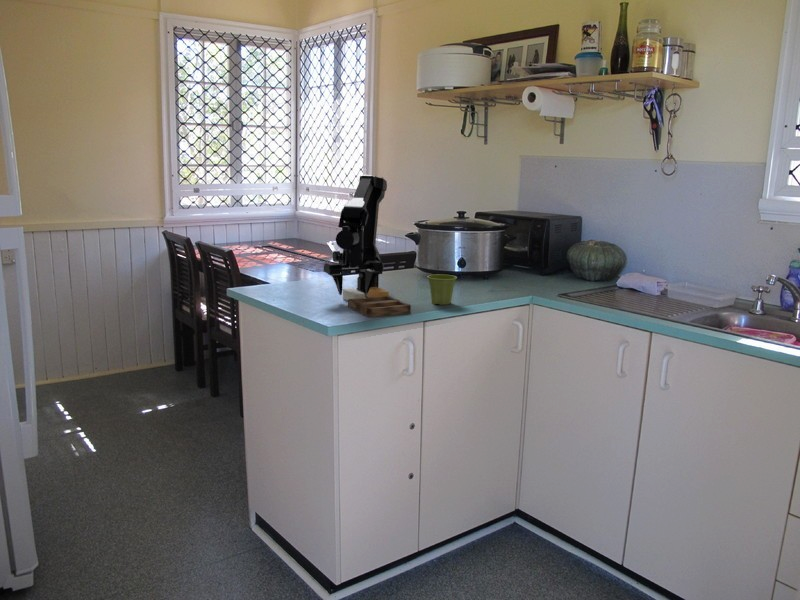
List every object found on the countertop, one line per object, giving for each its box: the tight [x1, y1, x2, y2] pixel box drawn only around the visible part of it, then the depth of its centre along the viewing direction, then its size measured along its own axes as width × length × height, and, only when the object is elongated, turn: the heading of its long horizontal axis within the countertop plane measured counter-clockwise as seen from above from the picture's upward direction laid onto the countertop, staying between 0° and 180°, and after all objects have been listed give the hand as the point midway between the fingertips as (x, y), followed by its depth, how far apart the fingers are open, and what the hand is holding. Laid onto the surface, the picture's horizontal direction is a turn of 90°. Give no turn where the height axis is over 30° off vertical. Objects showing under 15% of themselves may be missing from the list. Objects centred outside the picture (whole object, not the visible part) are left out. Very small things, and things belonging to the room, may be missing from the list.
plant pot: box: [426, 273, 458, 306], centre depth 214 cm, size 9×9×9 cm
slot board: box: [347, 295, 412, 318], centre depth 202 cm, size 14×14×2 cm
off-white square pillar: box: [342, 287, 366, 301], centre depth 214 cm, size 9×4×4 cm, turn 29°
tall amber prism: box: [366, 286, 390, 298], centre depth 218 cm, size 9×4×4 cm, turn 28°
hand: (353, 293), depth 214 cm, fingers open, 9 cm apart
